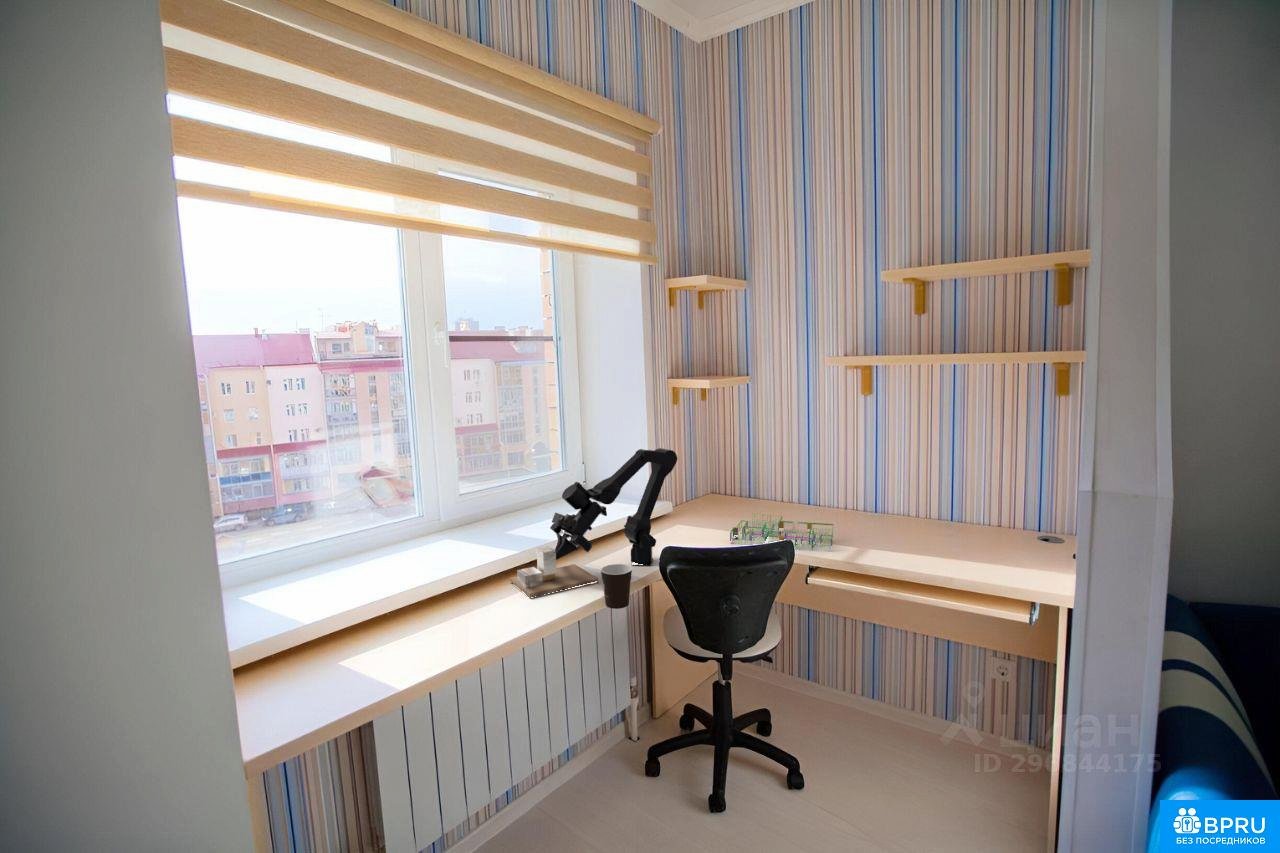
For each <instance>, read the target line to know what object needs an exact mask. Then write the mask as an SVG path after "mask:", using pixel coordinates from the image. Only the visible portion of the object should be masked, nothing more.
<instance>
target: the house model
mask: <svg viewBox="0 0 1280 853" xmlns="http://www.w3.org/2000/svg"><path fill="white" fill-rule="evenodd" d="M755 515H756V516H765V514H761V513H753V517H754V519H753V520H745V523H744V525H743V520H740V522H739V523H738V524H737V526H735V527H732V529H731V531H730V533H729V534H730V535H729V541H731V539H732V540H733V536H734V535H738V536H739V531H740V538H739V537H738V538H737V537H736V536H735V537H736V538H737V539H735V542H737V541H738V540H739V541H741V542H742V541H743V542H744V540H746V541H747V536H748V542H749V541H750V540H751V541H752V538H753V537H756V536H759V539H760V538H761V539H762V537H763V538H764V542H765V541H766V539H767V537H768V536H769V537H772V538H774V537H775V538H778V537H779V540H784V539H786V540H787V539H788V540H794V547H795V546H796V545H797V546H798V539H799V545H800V544H802V541H803V542H804V541H806V546H807V545H808V546H809V545H812V544H813V541H815V539H819V541H820V543H821V542H822V543H823V541H824V540H825V538H823V541H822V536H823V537H829V538H827V541H830V547H831V546H832V547H833V543H832V538H833V539H834V532H833V531H834V529H833V528H832V529H829V528H821V530H822V531H821V532H818V528H813V525H821V526H834V524H833V523H824V522H823V523H820V522H803V521H797V524H798V525H799V524H804V525H806V526H807V527H806V528H807V529H810V531H809V532H807V531H804V533H803V531H801V532H802V534H801V535H800V534H798V531H795V530H786V531H787V532H785V531H784V532H783V531H782V532H781V531H779V528H784V526H785V525H784V524H785V523H786V524H794V521H792V520H791V521H788V520H783V515H779V514H778V515H776V514H766V519H761V518H762V517H759V522H758V520H756V519H755V517H756V516H755ZM774 516H775V517H779V520H778V518H775V522H774V521H772V517H774ZM777 520H778V521H777ZM761 522H764V523H763V524H762V526H755V523H758V525H761ZM749 523H753V525H749ZM767 523H768V524H770V523H772V524H771V526H770V527H767ZM775 523H777V527H778V528H777V529H776V528H775ZM741 528H742V532H741ZM754 528H755V529H759V531H760V532H759V533H754ZM746 529H748V530H750V529H751V530H750V532H747V533H746ZM765 529H766V531H764V530H765ZM792 529H795V526H792ZM807 529H806V530H807ZM773 530H774V531H773ZM811 530H812V534H811ZM815 530H816V532H815ZM824 530H825V531H831V534H827V533H823V531H824ZM764 532H765V535H764ZM779 532H780V533H779ZM772 533H774V534H772ZM807 533H809V534H808V536H804V534H807ZM744 534H745V537H744ZM771 534H772V535H771ZM783 534H784V535H783ZM789 534H792V535H793V536H792V535H789ZM794 534H795V536H794ZM761 535H762V536H761ZM810 535H811V538H810ZM816 535H817V538H816ZM819 535H820V537H818V536H819ZM752 536H753V537H752ZM741 538H742V539H741ZM803 538H804V539H803ZM753 539H754V538H753ZM810 540H812V541H810ZM827 541H826V542H827ZM796 542H797V544H796ZM826 542H825V541H824V544H822V546H821V547H823V546H824V547H826V546H827V547H829V544H827V545H826ZM814 545H815V546H817V543H815V544H814Z"/></svg>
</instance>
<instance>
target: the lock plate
mask: <svg viewBox="0 0 1280 853" xmlns="http://www.w3.org/2000/svg"><path fill="white" fill-rule="evenodd" d="M516 573H517V576H511V577H509V582H510V581H511V582H512V583H513V584H514V585H515V586H517V587H518V588H519V589H520V590H521V591H523V592H524V593H525V594H526V595H527V596H528V597H530V598H531V597H535V596H540V597H542V596H541V595H544V594H548V593H552V592H556V591H560V590H565V589H568V588H572V587H575V586H579V585H583V584H587V583H591V582H595V581H598V582H599V577H596V576H595V575H594V574H592V573H590V572H588V571H587V570H585V569H583V568H582V567H580V566H579V565H576V564H575V563H574V564H569V565H564V566H559V567H556V573H555V579H551V580H546V581H542V572H540V571H539V570H538V569H537V567H534V566H532V567H531V566H530V567H526V568H521V569H517V570H516ZM515 586H514V587H515ZM520 590H519V591H520ZM521 591H520V592H521ZM525 594H524V595H525ZM526 595H525V596H526ZM527 596H526V597H527ZM544 596H545V595H544ZM528 597H527V598H528ZM530 598H529V599H530ZM531 599H532V598H531Z"/></svg>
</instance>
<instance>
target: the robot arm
mask: <svg viewBox="0 0 1280 853" xmlns="http://www.w3.org/2000/svg"><path fill="white" fill-rule="evenodd" d="M677 461H678V456H677V453H676V452H675V451H674V450H671V449H667V448H662V447H659V448H656V449H654V450H651V449H643V448H640V449H638V450H635V453H634V454H633V455H632V456H631V457H630V458H629V459H628V460H627V461H626V462H625V463H624V464H623V465H622V466H621V467H619V468H618V469H617V471H615V472H614V474H612V475H611V476H610V477H607V478H605V479H603V480H601V481H599V482H598V483H597V484H595V485H594V486H593V487H591V488H589V489H585V488H584V487H583V485H582V484H581V483H580V482H578V481H575V482H574V483H573V484H571V485H569V486H567V487H566V488H565V489H564V491H563V492H562V495H561V498H562V499H563V500H564V501H565V502H566V503H567V504H568V505H570V507H572V508H573V509H574V510H576V511H577V510H578V512H577V513H576V514H574V513H573V514H568V513H566V514H562V513H558V512H554V515H553V517H552V520H551V523H552V525H551V526H550V527H549V528H550V530H551V531H553V533H555V534H556V537H557V543H556V545H555V549H554V550H556V561H557V560H559V559H560V558H562V557H564V556H566V555H569V554H570V553H573V552H574V551H579V546H580V547H581V548H582V550H583V551H584V552H586V553H589V552H590V551H591V550H592V548H593V546H592V545H593V544H592V542H591V541H590V540H589V539H587V538H586V537H585V535H586V533H587V532H588V531H592V529H593V527H592V525H593V524H594V522H595V521H596V520H597V518H598V517H599V516H600V515H602V516H604V517H607V516H608V514H607V507H606V506H603V505H612V503H614V502H615V501H616V499H617V498H618V497H619V495H620V494H621V490H622V488H623V487H624V486H625V484H626V483H628V481H630V480H631V479H632V478H633V477H634V476H635V474H637V473H638V472H639V471H640V470H641V469H642V468H643V467H644V466H645V465H646V464H648V463H650V469H651V472H650V476H649V478H648V480H647V484H646V486H645V489H644V491H643V495H642V498H641V500H640V502H639V505H638V507H637V510H636V513H634V514H633V515H632V516H631V515H628V516H627V519H626V522H625V524H624V525H623V528H624V531H623V532H624V535H625V537H626V538H627V539H628V541H629V544H632V547H631V549H630V562H631V563H632V562H635V563H638V564H643V565H651V564H652V565H653V562H654V558H653V548H654V547H656V544H657V538H656V539H655V537H654V536H652V535H651V530H652V523H651V521H652V520H651V517H652V514H653V513H654V509H655V506H656V503H657V501H658V499H659V498H658V497H659V496H660V493H661V491H662V487H663V484H664V482H665V479H666V477H667V476H668V475H669V474H670V473H671V472H672V471H673V470H674V468H675V466H676V464H677V463H678V462H677ZM592 500H593V501H592ZM599 503H601V504H603V505H600V504H599ZM652 565H651V566H652Z"/></svg>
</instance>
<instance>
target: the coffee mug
mask: <svg viewBox="0 0 1280 853" xmlns="http://www.w3.org/2000/svg"><path fill="white" fill-rule="evenodd" d="M632 572H633V568H632V566H630V565H628V564H623V563H613V564H607V565H605V566H602V567H601V568H600V575H601V581H602V582H601V583H602V588H603V589H602V590H603V596H604V601H605V606H606V607H607V608H609V609H613V610H615V609H616V610H619V609H624V608H627V607H628V606H629V605H630V594H631V584H632V575H633V573H632Z"/></svg>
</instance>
